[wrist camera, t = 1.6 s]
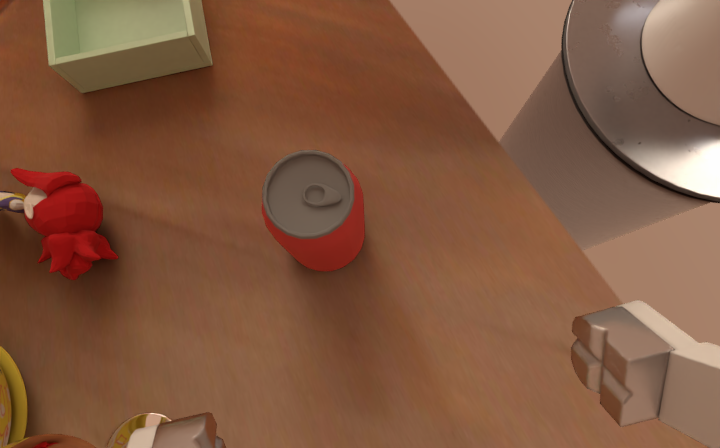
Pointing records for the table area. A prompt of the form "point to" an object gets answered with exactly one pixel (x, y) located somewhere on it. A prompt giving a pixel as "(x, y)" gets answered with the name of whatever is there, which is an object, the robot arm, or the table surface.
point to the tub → (124, 40)
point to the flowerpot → (11, 401)
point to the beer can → (315, 209)
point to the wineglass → (59, 444)
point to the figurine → (61, 219)
